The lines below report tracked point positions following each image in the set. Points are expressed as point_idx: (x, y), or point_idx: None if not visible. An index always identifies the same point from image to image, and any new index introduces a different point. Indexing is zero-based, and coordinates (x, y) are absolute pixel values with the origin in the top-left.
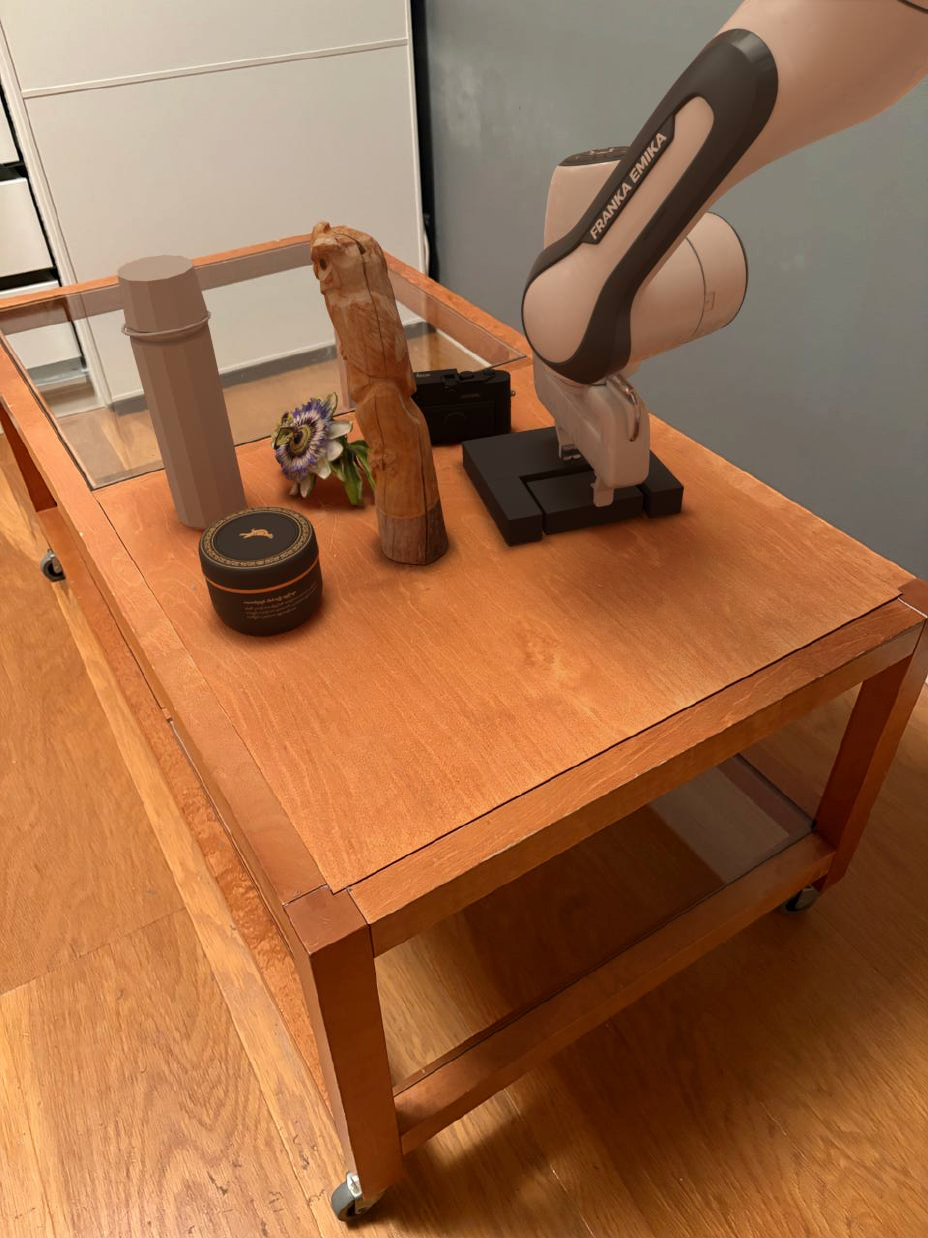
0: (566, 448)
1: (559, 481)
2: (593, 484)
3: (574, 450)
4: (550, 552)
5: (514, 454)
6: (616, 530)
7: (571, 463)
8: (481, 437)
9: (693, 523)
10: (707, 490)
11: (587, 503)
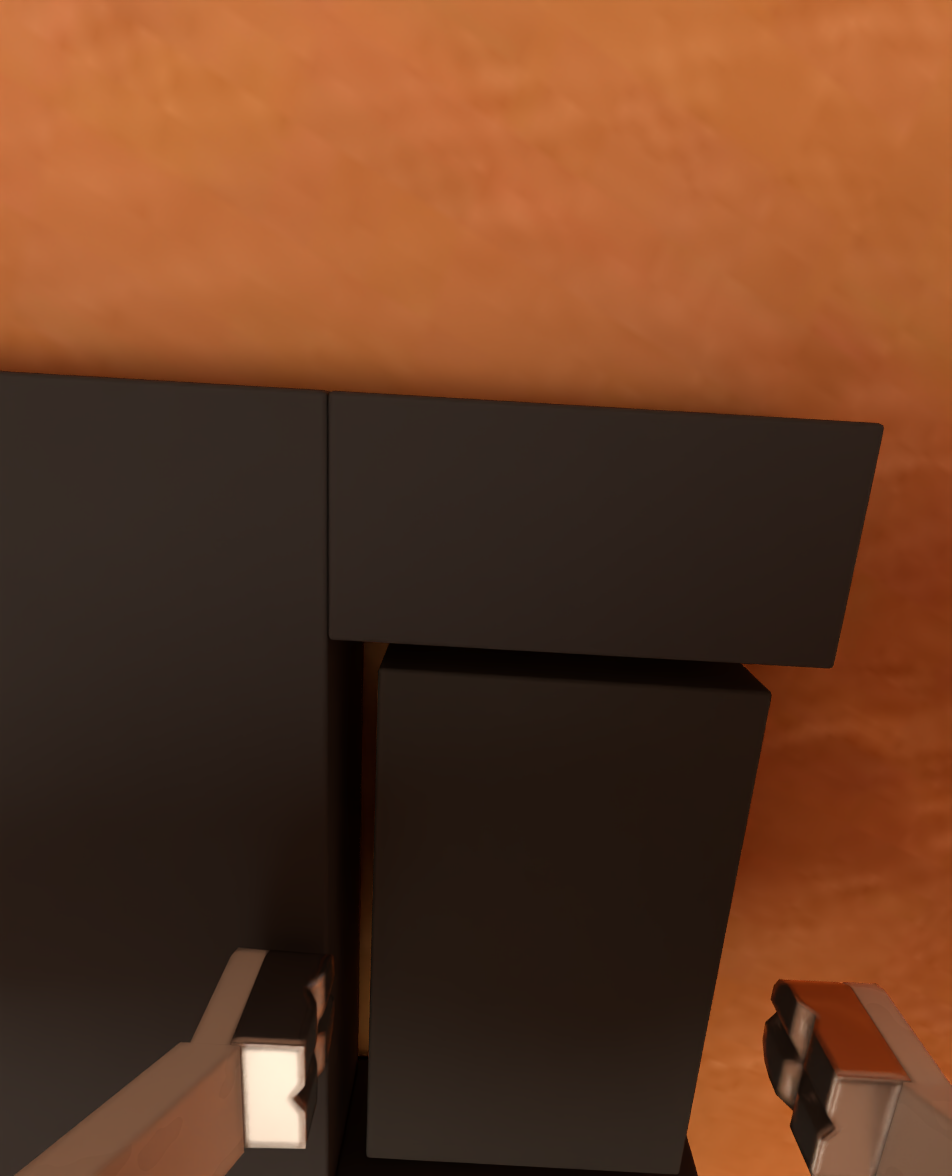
0: (286, 1128)
1: (422, 1030)
2: (829, 1164)
3: (309, 1068)
4: (764, 1076)
5: None
6: (757, 792)
7: (292, 949)
8: None
9: (906, 410)
10: (645, 120)
11: (694, 994)
